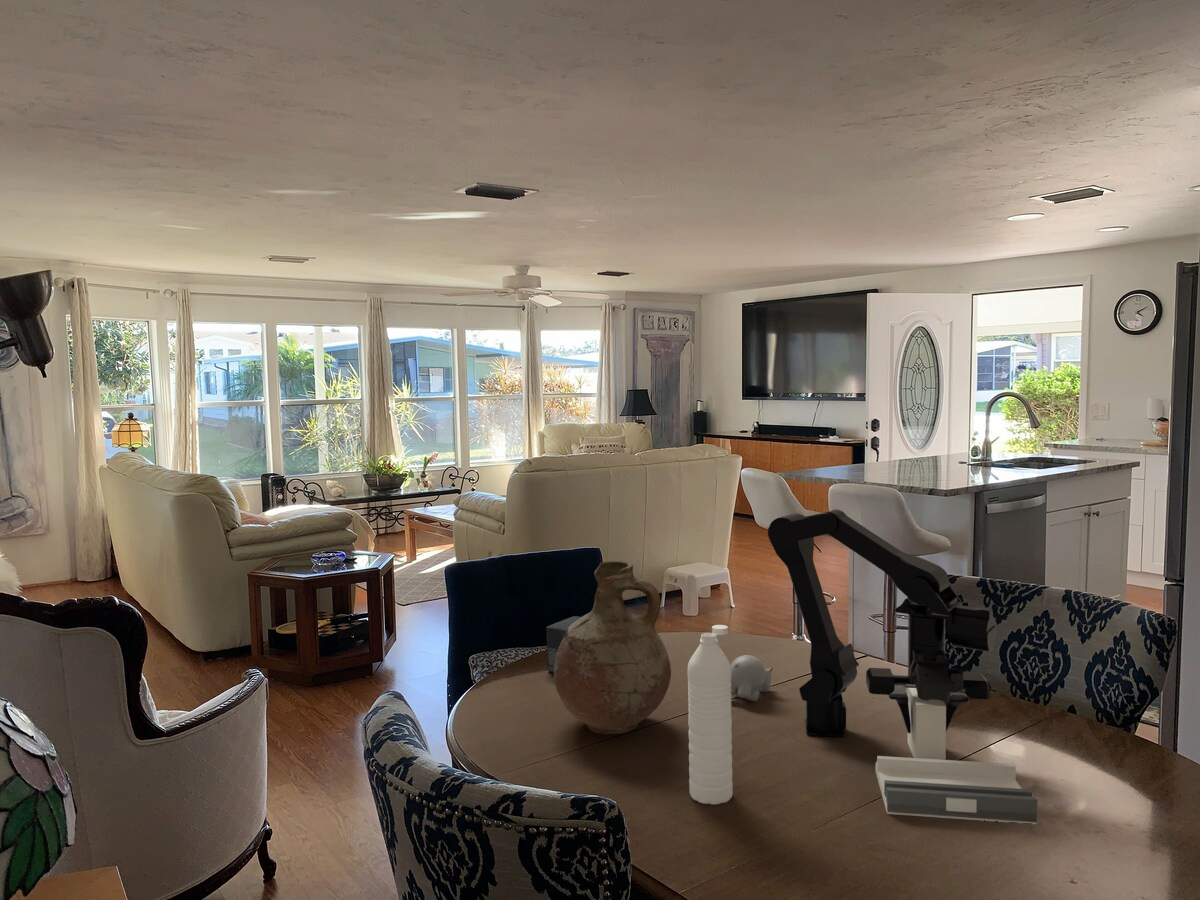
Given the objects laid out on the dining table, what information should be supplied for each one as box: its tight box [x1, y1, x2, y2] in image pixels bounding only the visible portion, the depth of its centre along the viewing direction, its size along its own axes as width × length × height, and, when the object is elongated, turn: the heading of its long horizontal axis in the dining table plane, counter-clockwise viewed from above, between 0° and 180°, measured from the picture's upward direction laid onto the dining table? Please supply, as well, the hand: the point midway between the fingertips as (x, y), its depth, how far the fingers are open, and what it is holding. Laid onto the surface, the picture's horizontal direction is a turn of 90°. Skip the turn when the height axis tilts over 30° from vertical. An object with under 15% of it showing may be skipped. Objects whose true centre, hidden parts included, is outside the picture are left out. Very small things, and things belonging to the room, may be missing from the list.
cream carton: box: [907, 688, 947, 760], centre depth 143 cm, size 5×9×10 cm, turn 169°
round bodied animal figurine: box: [730, 654, 774, 703], centre depth 172 cm, size 7×12×8 cm, turn 130°
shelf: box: [875, 755, 1038, 825], centre depth 129 cm, size 20×14×4 cm
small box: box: [545, 615, 582, 674], centre depth 192 cm, size 11×6×10 cm, turn 145°
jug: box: [553, 560, 672, 735], centre depth 158 cm, size 22×22×30 cm
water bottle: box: [687, 624, 734, 805], centre depth 131 cm, size 9×6×25 cm
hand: (925, 733), depth 143 cm, fingers open, 5 cm apart
